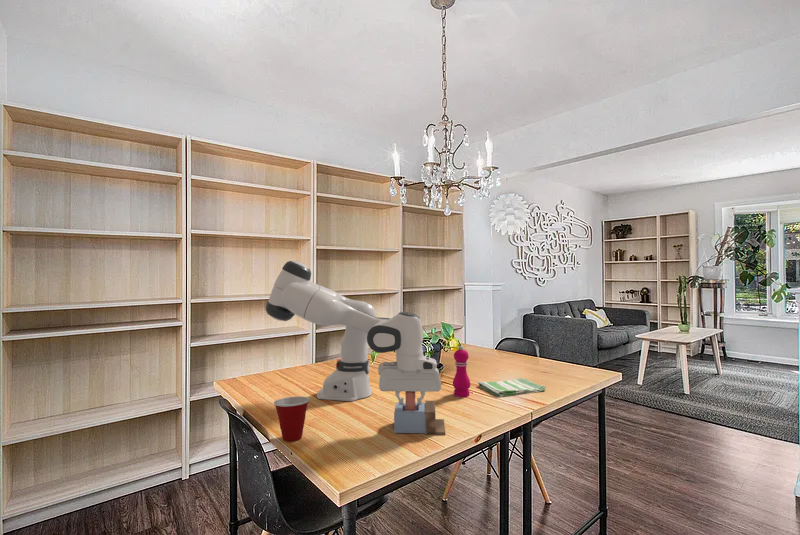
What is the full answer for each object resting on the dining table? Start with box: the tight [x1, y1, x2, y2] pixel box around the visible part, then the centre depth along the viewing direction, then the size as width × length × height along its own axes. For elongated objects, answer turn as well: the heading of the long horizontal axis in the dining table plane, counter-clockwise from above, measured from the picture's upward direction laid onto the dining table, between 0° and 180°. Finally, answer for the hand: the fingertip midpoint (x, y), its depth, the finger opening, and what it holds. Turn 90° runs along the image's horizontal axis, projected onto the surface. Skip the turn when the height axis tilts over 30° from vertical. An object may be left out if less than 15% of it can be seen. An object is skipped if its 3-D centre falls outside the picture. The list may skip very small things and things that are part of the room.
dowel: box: [405, 391, 416, 411], centre depth 136 cm, size 3×3×10 cm
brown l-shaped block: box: [425, 400, 446, 436], centre depth 135 cm, size 6×11×7 cm, turn 176°
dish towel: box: [477, 377, 547, 398], centre depth 177 cm, size 18×23×3 cm
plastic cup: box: [273, 395, 310, 443], centre depth 129 cm, size 11×11×12 cm
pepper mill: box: [452, 345, 472, 398], centre depth 170 cm, size 7×7×20 cm
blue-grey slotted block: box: [393, 402, 426, 434], centre depth 136 cm, size 10×10×6 cm
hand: (410, 404), depth 136 cm, fingers open, 5 cm apart
